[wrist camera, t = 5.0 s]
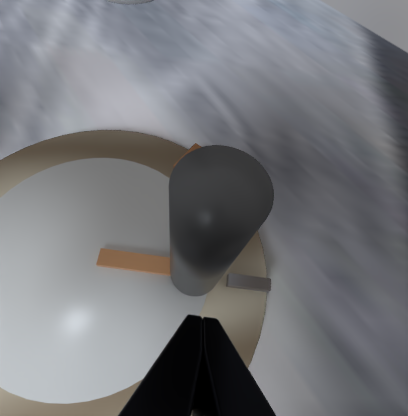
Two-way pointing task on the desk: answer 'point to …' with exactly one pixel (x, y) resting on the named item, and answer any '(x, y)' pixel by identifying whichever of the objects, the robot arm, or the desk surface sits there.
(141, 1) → the grey and black mug
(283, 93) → the desk surface
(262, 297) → the base plate
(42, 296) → the dial
